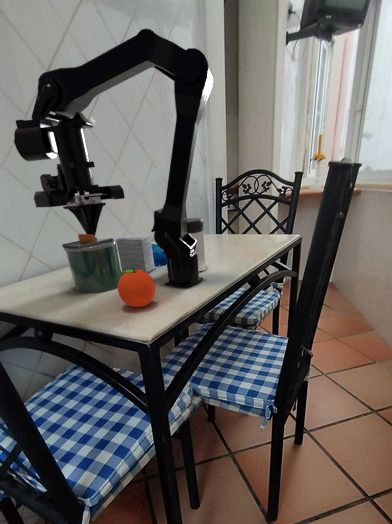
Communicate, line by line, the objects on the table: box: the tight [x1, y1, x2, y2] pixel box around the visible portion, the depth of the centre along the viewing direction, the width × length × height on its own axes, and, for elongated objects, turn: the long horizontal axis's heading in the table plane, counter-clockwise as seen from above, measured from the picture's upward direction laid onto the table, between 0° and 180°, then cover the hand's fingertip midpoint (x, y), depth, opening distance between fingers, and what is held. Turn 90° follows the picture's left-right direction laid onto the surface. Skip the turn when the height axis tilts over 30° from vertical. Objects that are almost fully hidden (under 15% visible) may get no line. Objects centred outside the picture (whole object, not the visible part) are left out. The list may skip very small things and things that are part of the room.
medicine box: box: [115, 235, 156, 273], centre depth 82 cm, size 8×4×9 cm, turn 66°
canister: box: [61, 236, 123, 294], centre depth 72 cm, size 12×12×10 cm
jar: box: [187, 217, 207, 272], centre depth 79 cm, size 9×8×12 cm
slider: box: [63, 233, 96, 249], centre depth 68 cm, size 5×5×2 cm
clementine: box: [114, 269, 156, 308], centre depth 58 cm, size 8×7×7 cm
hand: (91, 238), depth 70 cm, fingers closed
